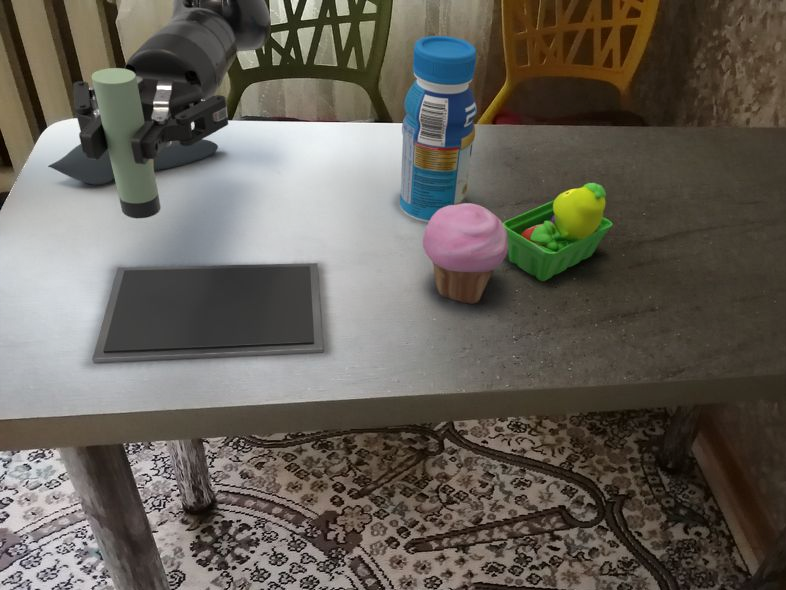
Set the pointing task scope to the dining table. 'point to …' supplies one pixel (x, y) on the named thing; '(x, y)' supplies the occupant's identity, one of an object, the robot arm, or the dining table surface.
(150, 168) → the mint green cylinder
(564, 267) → the fruit basket
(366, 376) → the dining table surface
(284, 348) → the tablet
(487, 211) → the cupcake
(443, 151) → the beverage bottle
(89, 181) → the paintbrush
